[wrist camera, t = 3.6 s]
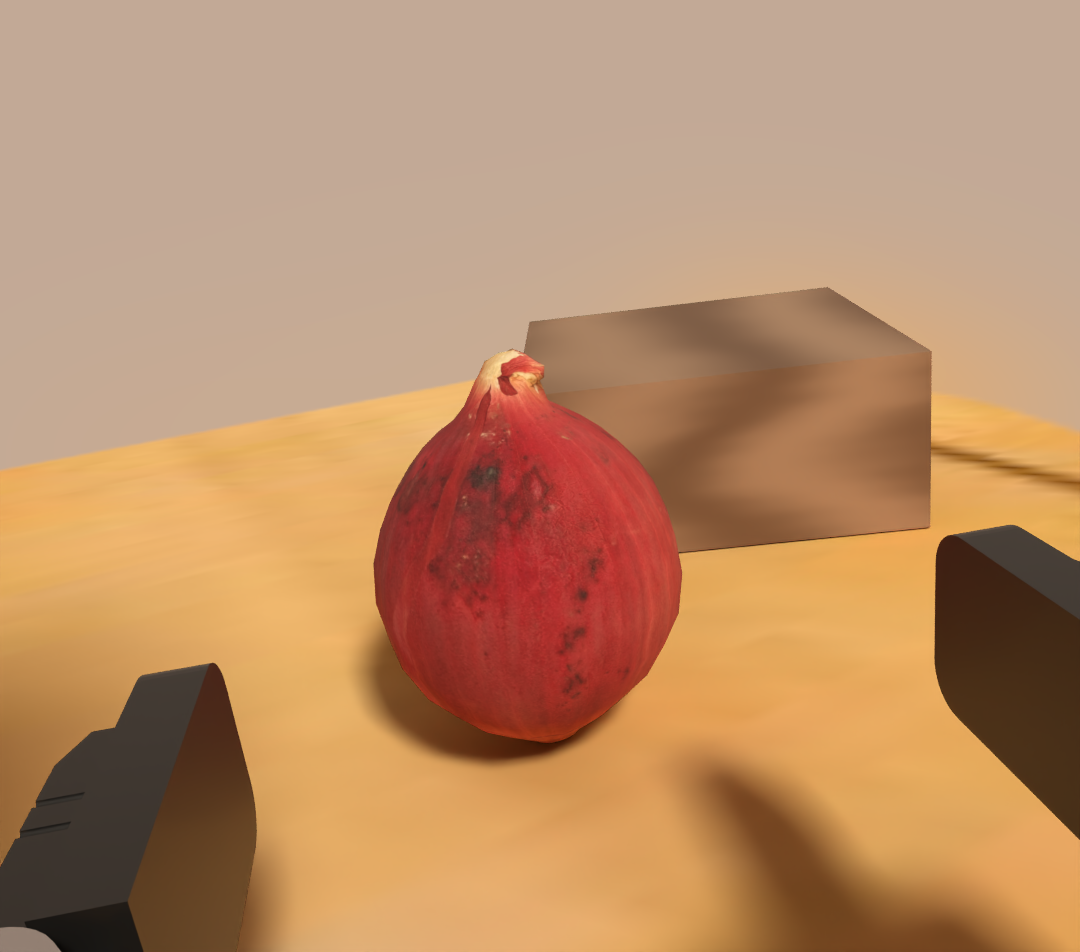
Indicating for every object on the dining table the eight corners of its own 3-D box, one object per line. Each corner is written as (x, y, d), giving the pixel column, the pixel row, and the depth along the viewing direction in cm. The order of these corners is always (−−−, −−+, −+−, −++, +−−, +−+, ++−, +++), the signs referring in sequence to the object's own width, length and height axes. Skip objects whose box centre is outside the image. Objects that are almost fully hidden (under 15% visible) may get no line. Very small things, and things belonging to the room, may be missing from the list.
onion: (649, 856, 17) (602, 397, 14) (356, 809, 19) (268, 404, 16) (719, 676, 22) (693, 314, 19) (480, 655, 24) (429, 327, 21)
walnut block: (537, 566, 28) (515, 397, 27) (545, 448, 39) (529, 321, 37) (930, 527, 28) (931, 351, 26) (831, 417, 38) (827, 287, 36)
